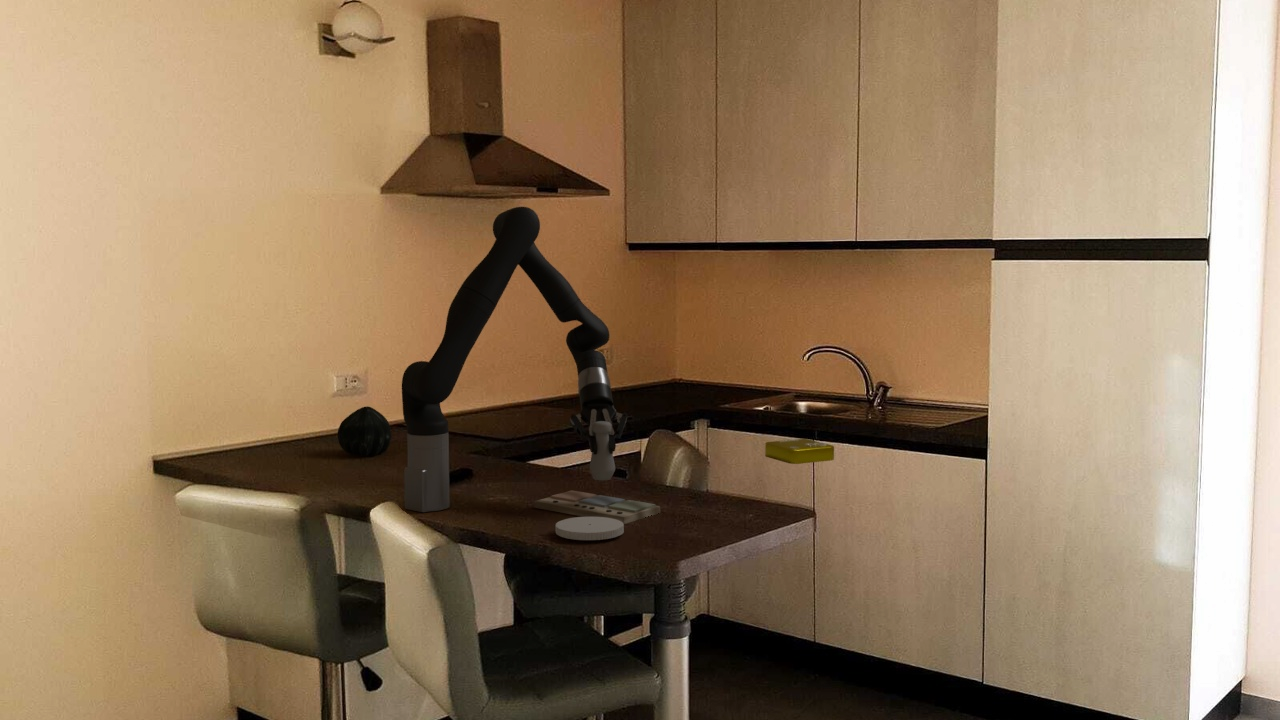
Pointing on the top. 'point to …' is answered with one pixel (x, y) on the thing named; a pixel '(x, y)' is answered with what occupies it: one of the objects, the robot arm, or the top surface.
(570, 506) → the board
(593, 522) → the plastic lid
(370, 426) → the squash
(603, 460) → the salt shaker
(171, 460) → the top surface
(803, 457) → the yellow flat block
